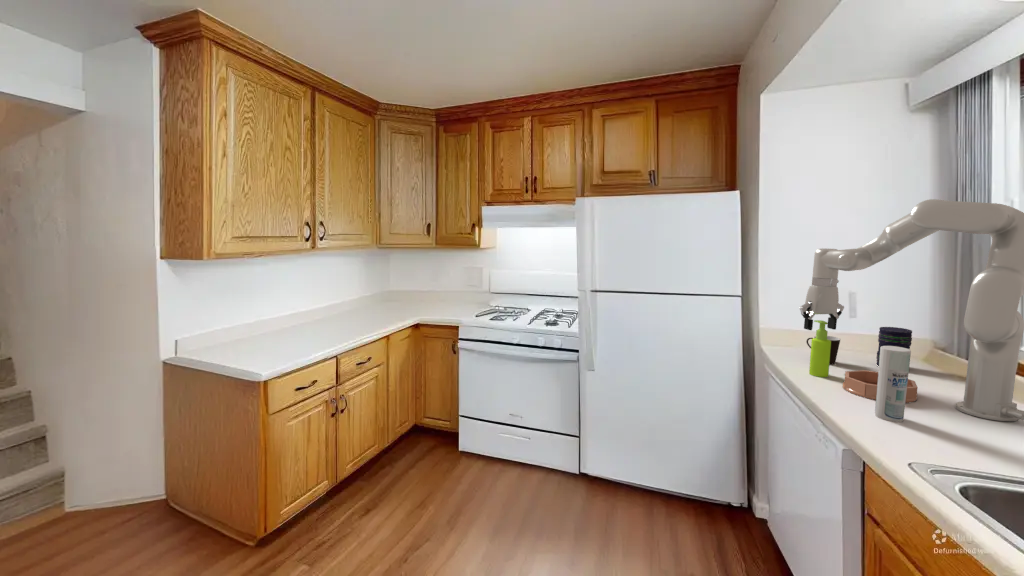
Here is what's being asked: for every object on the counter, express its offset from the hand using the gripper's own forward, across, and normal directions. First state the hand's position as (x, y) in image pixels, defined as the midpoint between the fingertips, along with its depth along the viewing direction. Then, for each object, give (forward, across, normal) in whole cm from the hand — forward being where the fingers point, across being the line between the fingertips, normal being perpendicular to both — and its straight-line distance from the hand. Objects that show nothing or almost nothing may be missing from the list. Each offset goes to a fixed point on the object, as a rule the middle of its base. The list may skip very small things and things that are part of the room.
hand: (819, 329), depth 166 cm
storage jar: (+17, -35, -2) cm, 39 cm away
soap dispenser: (+17, 0, +1) cm, 17 cm away
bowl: (+16, -4, +21) cm, 27 cm away
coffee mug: (+17, -16, -14) cm, 28 cm away
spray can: (+16, +12, +39) cm, 44 cm away
